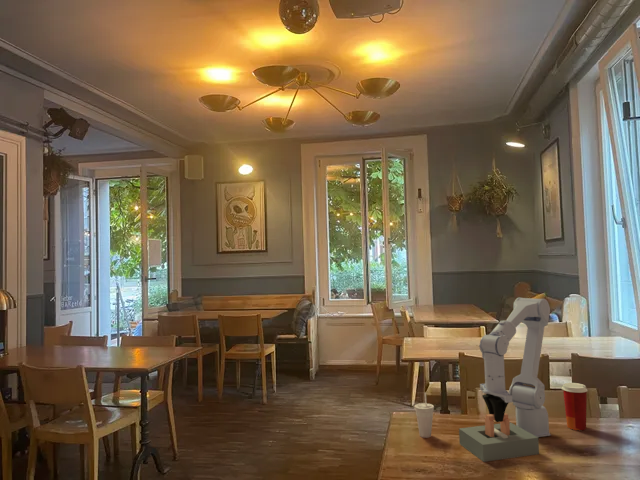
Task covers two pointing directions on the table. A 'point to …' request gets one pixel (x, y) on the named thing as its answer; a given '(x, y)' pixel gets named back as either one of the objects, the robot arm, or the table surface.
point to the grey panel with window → (498, 442)
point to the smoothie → (424, 418)
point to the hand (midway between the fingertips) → (496, 420)
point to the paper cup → (575, 405)
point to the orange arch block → (490, 425)
